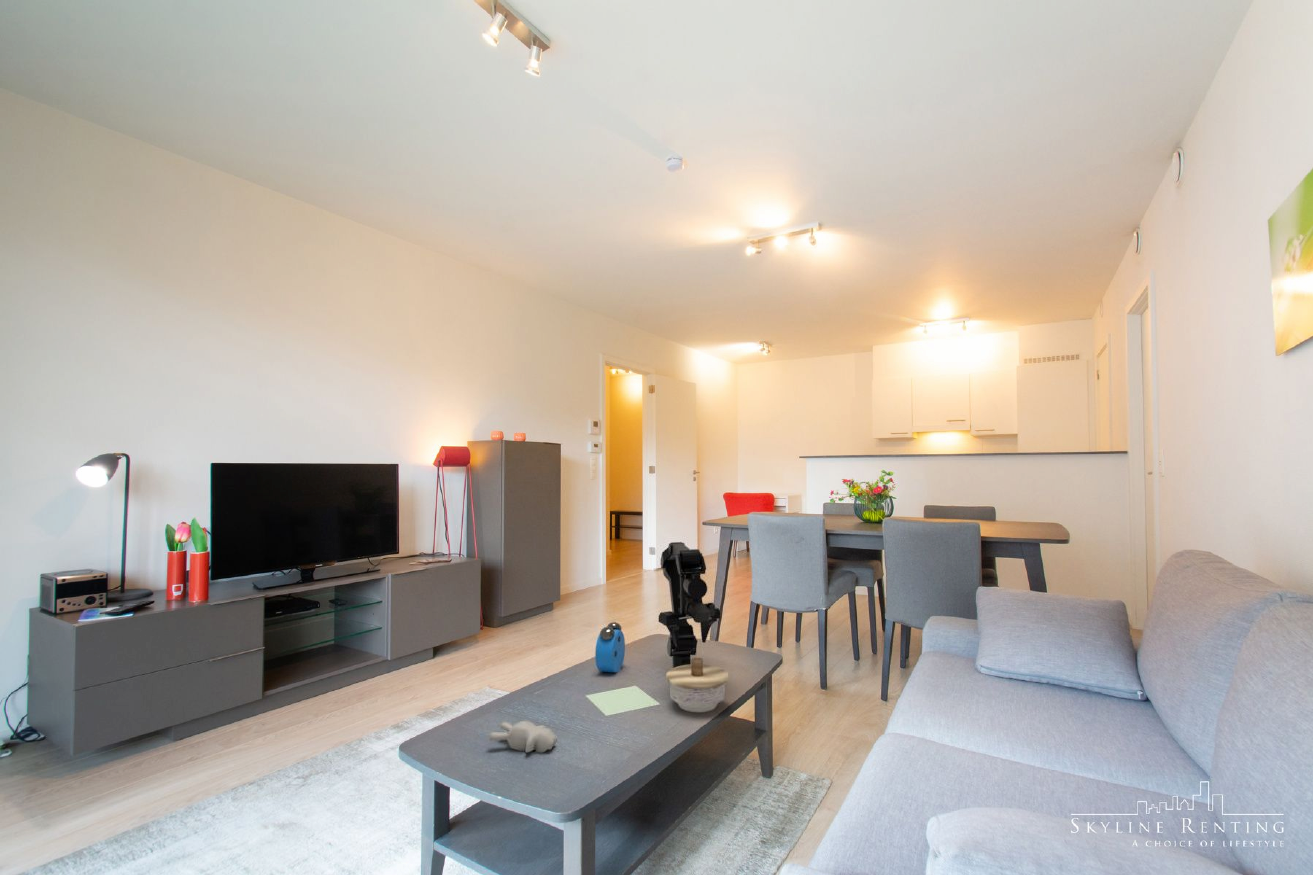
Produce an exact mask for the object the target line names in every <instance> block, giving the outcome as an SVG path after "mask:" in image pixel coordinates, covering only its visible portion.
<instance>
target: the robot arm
mask: <svg viewBox="0 0 1313 875" xmlns="http://www.w3.org/2000/svg"><path fill="white" fill-rule="evenodd" d="M667 546H668V547H667V548H666V549H664V550H663V551H662V552H661V557H660V568H661V569H662V574H663V576H664V577H665V579H666V580H667V581H668V585H669V586H668V587H669V596H670V604H671V605H670V606H671V610H670V611H662V612H661V611H660V613H659V615H658V623H660V624H662V625H663V626H665V627H666V628H667V630H668V632H669V637H668V640H667V644H666V653H667V655H668V656H669V657H670V658H671V659H672V668H675V667H678V666H682V665H690V664H691V659H692V658H691V656H696V655H697V647H698V639H697V636H696V635H695V634H694V627H693V625H692V624H690V623H689V621H688V620H690V619H692V620H693V622H695V623H698V624H699V623H700V625H699V626H700V634H701V635H700V637H701V643H703V644H705V643H706V641H707V638H708V635H709V632H710V629H711V627H712V626H713V624H714V623H716V622H718V620H719V619H721V618H722V611H721V609H720V608H719V607H716V606H715V603H714V602H706V603H704V602H703V598H704V597H705V596H706V594H707V592H708V585H707V583H706V581H705V580H703V579H702V577H701V575H705V574H706V572H707V571H706V570H707V565H706V561H705V557H704V556H703V553H702V552H701V551H700V549H699V548H694V549H691V548H689V547H688V546H686V544H685V542H681V541H678V542H677V541H676V542H673V541H672V542H669V543H668V545H667Z"/></svg>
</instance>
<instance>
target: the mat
mask: <svg viewBox="0 0 1313 875" xmlns="http://www.w3.org/2000/svg"><path fill="white" fill-rule="evenodd" d="M585 697H586V698H587V699H588V700H589V701H590V702H591V703H592V704H593V705H595V707H596V708H597V709H598V710H600V711H601V712H602V713H603V714H604V715H605V716H606V717H608V716H612V715H616V714H618V715H619V714H622V713H627V712H632V711H635V710H641V709H645V708H650V707H654V706H659V705H661V703H660V702H658V701H657V700H655V699H654V698H653V697H652V696H650V695H649V694H647V693H646V692H645V691H643V690H642V689H641V688H639V686H637V685H632V686H628V687H623V688H616V689H613V690H607V691H602V692H597V693H591V694H586V695H585Z"/></svg>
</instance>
